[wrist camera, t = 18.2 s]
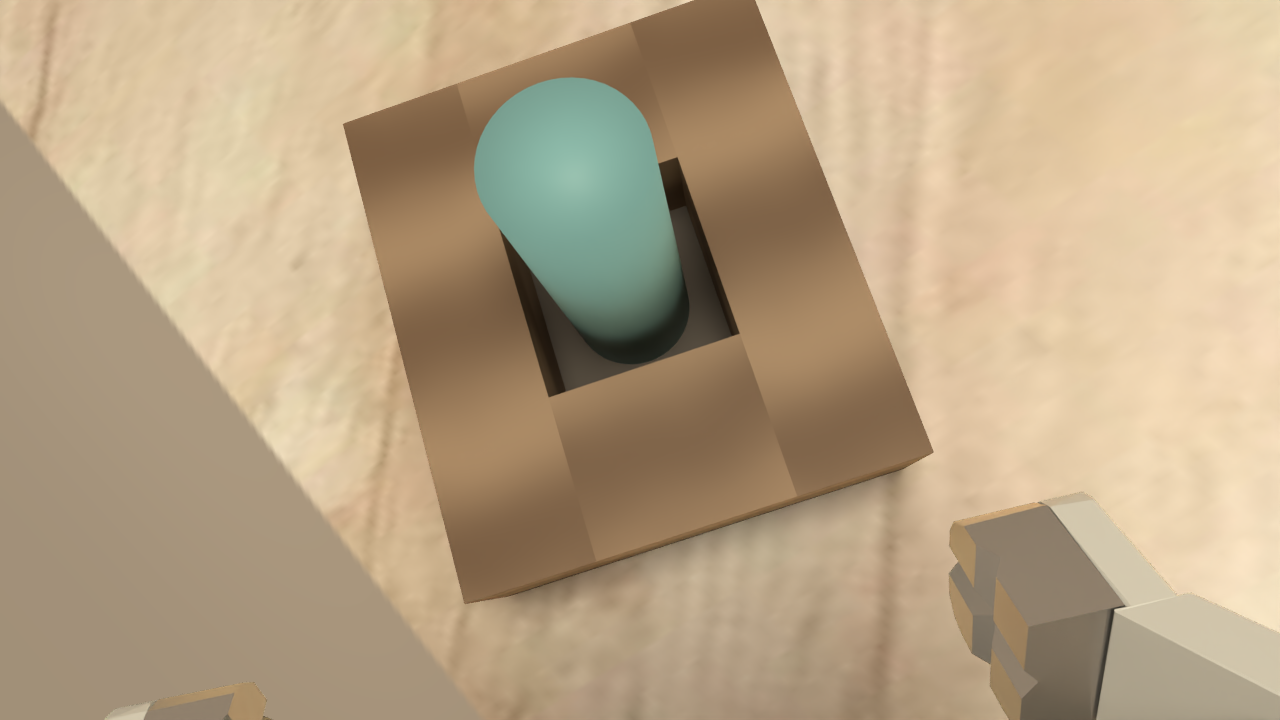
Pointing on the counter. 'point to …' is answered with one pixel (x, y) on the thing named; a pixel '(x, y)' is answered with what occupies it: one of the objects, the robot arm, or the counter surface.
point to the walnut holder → (647, 392)
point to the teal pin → (587, 213)
